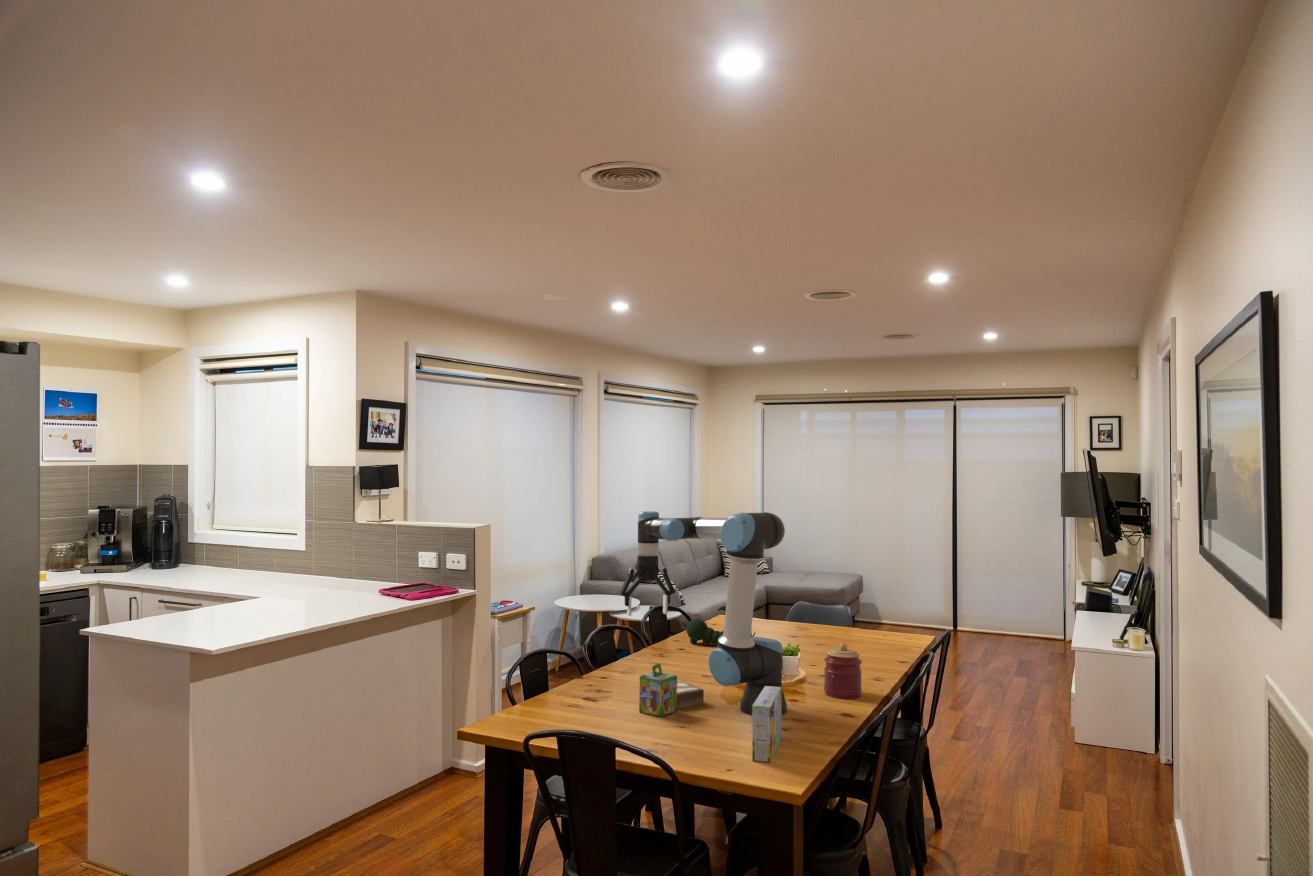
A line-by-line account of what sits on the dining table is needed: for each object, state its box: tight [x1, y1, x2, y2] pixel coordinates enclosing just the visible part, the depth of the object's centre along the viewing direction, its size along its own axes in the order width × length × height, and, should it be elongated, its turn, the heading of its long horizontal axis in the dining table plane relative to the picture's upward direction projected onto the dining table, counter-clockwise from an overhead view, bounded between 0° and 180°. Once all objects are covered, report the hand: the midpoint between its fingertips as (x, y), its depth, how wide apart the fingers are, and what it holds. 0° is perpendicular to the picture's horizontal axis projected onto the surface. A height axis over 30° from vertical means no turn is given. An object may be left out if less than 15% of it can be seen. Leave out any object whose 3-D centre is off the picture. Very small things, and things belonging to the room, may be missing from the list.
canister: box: [823, 642, 863, 700], centre depth 288 cm, size 13×13×18 cm
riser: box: [677, 681, 705, 710], centre depth 274 cm, size 12×12×5 cm
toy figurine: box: [680, 605, 726, 648], centre depth 364 cm, size 9×19×25 cm
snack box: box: [751, 686, 783, 764], centre depth 230 cm, size 21×6×15 cm, turn 163°
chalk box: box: [638, 663, 678, 718], centre depth 263 cm, size 9×9×15 cm
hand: (647, 614), depth 293 cm, fingers open, 13 cm apart
